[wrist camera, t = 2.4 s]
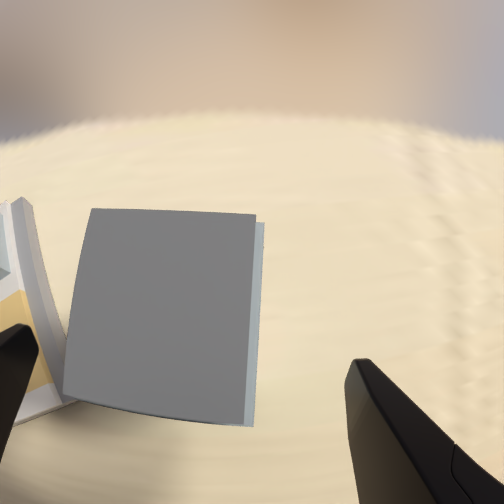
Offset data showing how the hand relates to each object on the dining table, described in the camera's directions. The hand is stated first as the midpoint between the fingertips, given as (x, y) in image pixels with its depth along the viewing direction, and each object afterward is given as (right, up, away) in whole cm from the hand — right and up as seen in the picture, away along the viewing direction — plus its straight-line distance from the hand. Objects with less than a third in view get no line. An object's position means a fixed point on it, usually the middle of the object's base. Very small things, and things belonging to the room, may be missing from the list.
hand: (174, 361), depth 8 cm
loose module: (0, -2, +9) cm, 9 cm away
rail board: (-13, -1, +9) cm, 16 cm away
